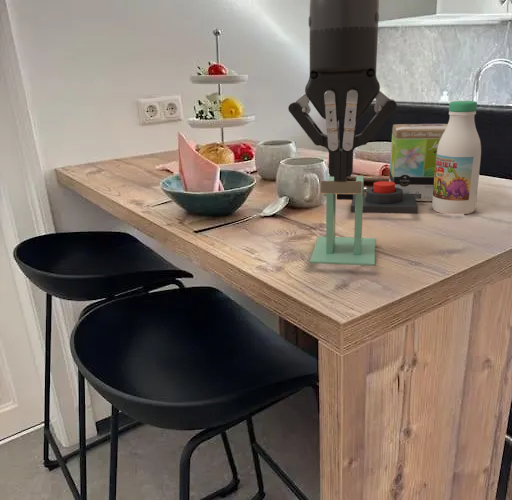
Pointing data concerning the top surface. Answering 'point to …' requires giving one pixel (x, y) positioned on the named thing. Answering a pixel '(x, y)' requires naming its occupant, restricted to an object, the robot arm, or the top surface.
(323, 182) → the switch lever
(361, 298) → the top surface
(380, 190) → the red button
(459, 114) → the milk bottle
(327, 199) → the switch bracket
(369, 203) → the button box
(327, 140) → the robot arm
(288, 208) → the top surface
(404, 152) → the tea box
